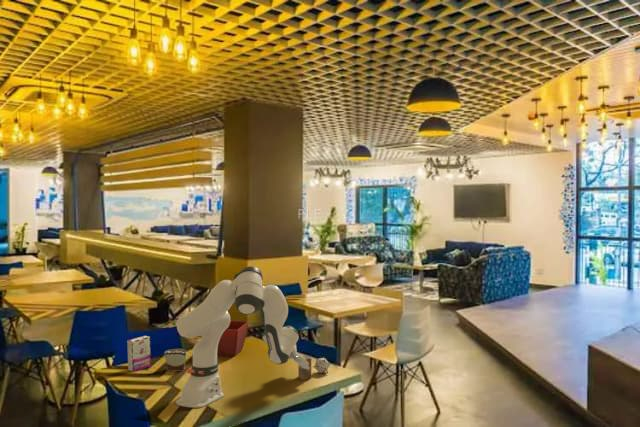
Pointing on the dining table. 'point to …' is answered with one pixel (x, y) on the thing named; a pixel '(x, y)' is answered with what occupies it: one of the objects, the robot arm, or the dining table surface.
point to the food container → (175, 359)
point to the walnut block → (304, 372)
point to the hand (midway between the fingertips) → (305, 366)
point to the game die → (321, 365)
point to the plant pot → (232, 339)
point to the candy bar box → (139, 353)
